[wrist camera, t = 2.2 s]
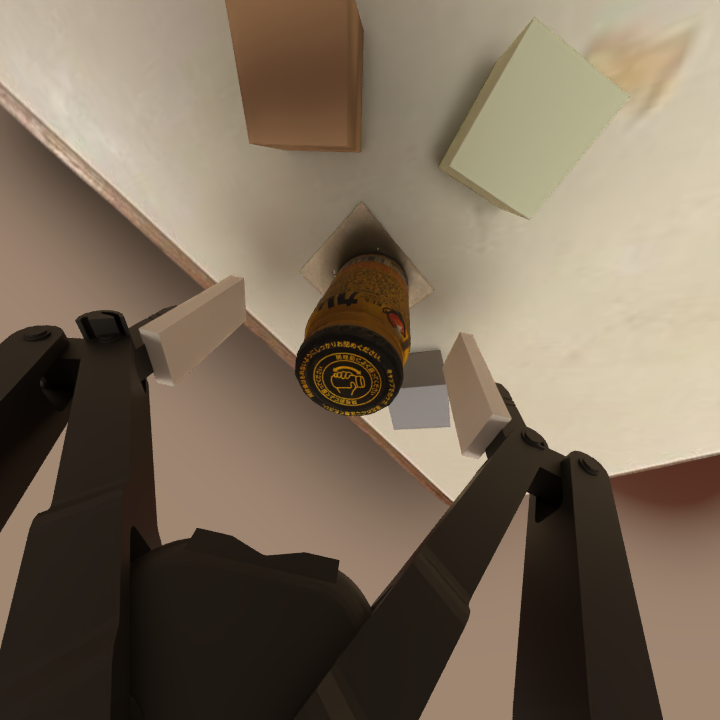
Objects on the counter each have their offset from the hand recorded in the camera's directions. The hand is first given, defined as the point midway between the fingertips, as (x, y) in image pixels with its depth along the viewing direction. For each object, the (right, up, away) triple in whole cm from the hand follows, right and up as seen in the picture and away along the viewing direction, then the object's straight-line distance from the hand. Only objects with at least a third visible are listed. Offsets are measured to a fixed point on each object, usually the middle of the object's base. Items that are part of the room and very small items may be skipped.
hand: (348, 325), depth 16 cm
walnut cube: (-2, +13, 0) cm, 14 cm away
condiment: (+1, +5, +6) cm, 7 cm away
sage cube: (+9, +11, 0) cm, 14 cm away
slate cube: (+6, -3, +10) cm, 13 cm away
